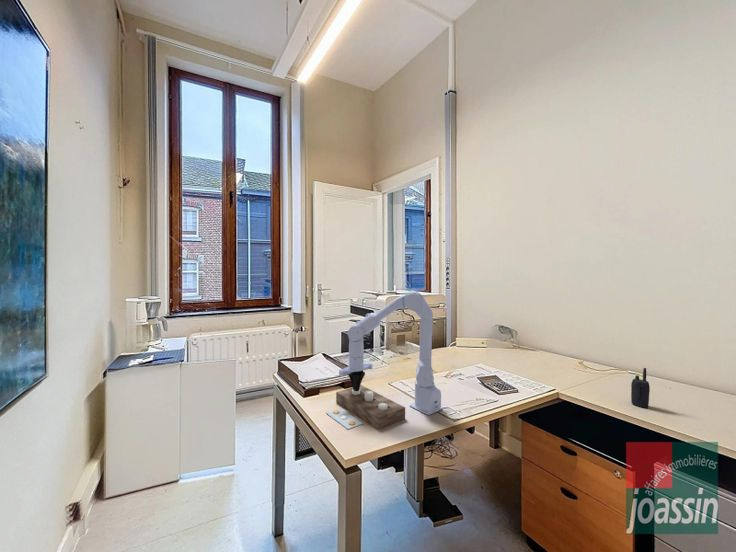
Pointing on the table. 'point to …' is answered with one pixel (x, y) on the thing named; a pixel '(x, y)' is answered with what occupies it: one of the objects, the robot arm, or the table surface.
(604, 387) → the table surface
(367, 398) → the middle button
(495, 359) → the table surface
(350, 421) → the pattern card
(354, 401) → the button box
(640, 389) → the two-way radio
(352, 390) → the button
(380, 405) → the button
